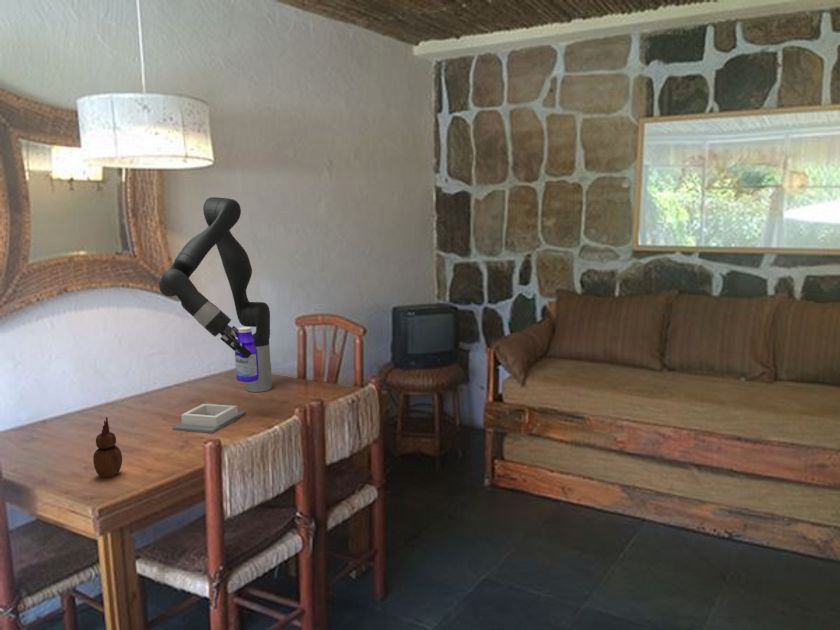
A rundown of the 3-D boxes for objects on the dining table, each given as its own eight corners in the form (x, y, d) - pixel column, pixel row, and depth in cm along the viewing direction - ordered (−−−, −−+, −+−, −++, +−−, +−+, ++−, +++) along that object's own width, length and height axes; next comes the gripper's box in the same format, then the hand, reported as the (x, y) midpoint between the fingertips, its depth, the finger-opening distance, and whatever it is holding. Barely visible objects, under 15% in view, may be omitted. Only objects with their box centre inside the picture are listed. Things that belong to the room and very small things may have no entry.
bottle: (232, 381, 217) (230, 328, 215) (245, 377, 222) (242, 325, 220) (250, 384, 214) (247, 330, 211) (262, 380, 219) (259, 327, 216)
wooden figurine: (109, 469, 179) (104, 414, 176) (127, 471, 177) (122, 416, 174) (90, 478, 172) (84, 422, 170) (108, 481, 170) (103, 424, 168)
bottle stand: (208, 411, 228) (208, 400, 228) (245, 413, 225) (245, 402, 224) (172, 429, 209) (171, 418, 209) (212, 433, 206) (211, 421, 205)
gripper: (215, 313, 207) (256, 350, 210) (224, 306, 221) (262, 341, 224) (198, 330, 207) (239, 367, 210) (209, 323, 221) (247, 357, 224)
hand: (251, 353), depth 217 cm, fingers closed on bottle, 6 cm apart
